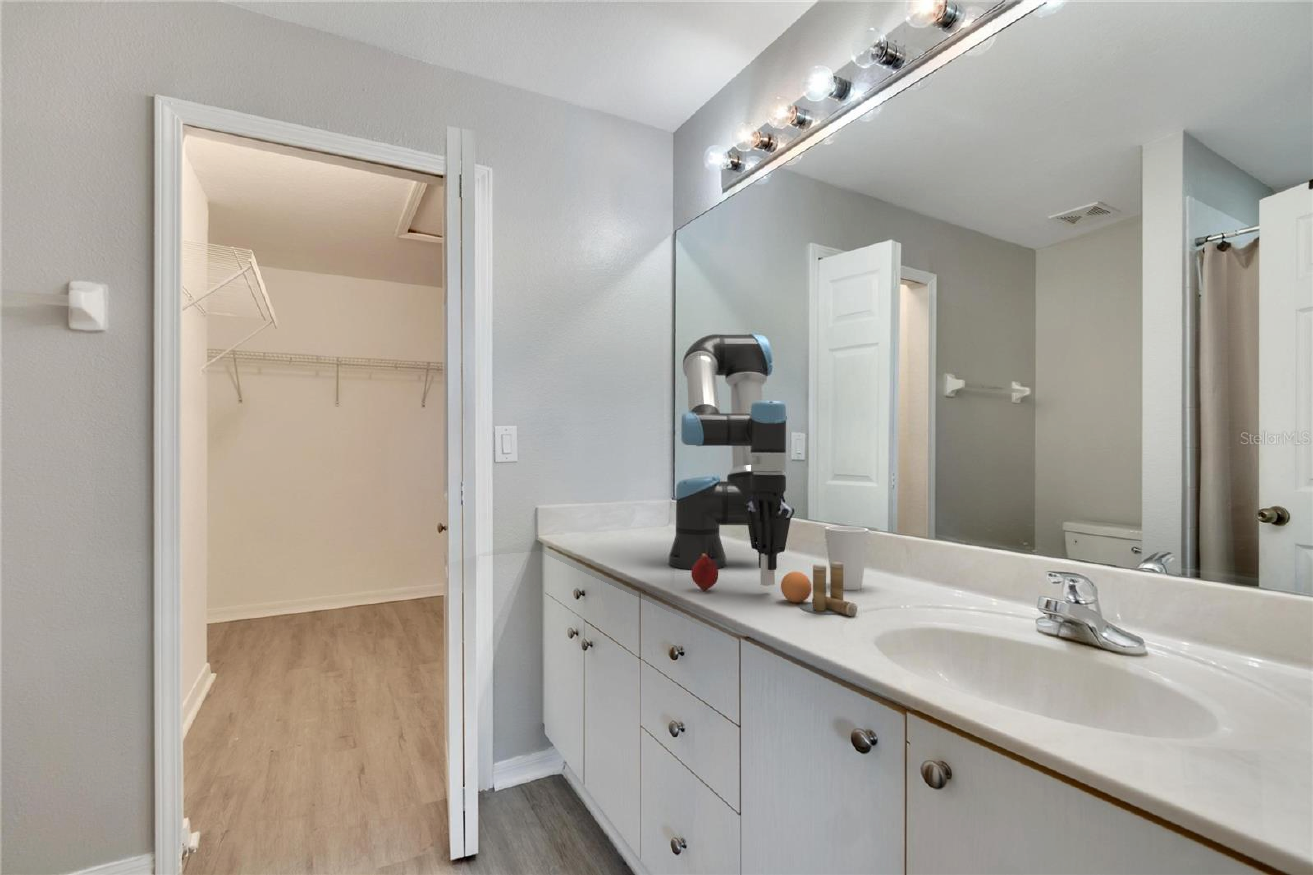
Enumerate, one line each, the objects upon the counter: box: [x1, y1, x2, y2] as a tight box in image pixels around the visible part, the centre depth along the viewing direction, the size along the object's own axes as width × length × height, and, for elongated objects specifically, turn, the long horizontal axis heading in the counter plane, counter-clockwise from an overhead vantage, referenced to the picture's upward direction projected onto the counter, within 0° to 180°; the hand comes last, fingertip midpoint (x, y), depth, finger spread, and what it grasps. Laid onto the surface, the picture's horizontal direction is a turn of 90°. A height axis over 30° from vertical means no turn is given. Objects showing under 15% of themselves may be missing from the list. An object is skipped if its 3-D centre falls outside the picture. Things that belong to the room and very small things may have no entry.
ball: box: [780, 571, 812, 603], centre depth 120 cm, size 6×6×6 cm
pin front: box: [811, 595, 858, 618], centre depth 113 cm, size 2×2×9 cm
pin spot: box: [799, 601, 840, 615], centre depth 115 cm, size 8×8×1 cm
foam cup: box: [824, 525, 870, 591], centre depth 135 cm, size 10×9×13 cm
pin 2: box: [829, 562, 844, 601], centre depth 116 cm, size 2×2×9 cm
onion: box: [690, 553, 719, 592], centre depth 129 cm, size 6×6×8 cm
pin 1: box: [812, 564, 827, 612], centre depth 113 cm, size 2×2×9 cm
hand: (767, 584), depth 127 cm, fingers closed
